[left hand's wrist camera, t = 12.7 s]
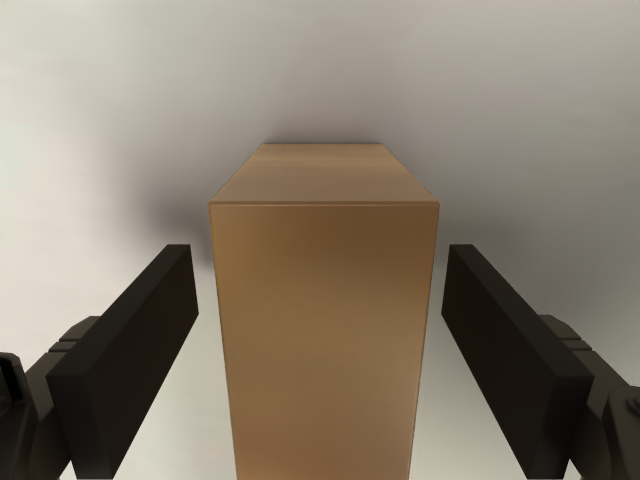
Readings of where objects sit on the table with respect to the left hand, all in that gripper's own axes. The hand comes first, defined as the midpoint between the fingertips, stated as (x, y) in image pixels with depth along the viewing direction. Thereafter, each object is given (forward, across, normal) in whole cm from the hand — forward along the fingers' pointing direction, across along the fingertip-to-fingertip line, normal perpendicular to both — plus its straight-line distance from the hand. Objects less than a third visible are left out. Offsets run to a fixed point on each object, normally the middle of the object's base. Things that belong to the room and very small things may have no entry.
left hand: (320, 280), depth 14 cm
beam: (+3, 0, -28) cm, 28 cm away
